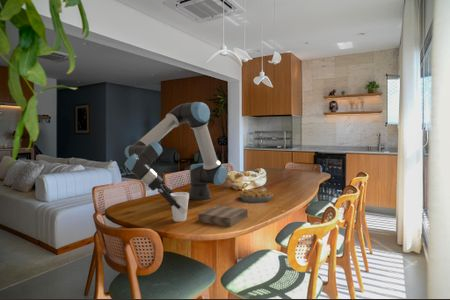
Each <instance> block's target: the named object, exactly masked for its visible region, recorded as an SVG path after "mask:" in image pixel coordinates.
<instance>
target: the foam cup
mask: <svg viewBox="0 0 450 300" xmlns="http://www.w3.org/2000/svg"><path fill="white" fill-rule="evenodd" d="M170 195H171V196H172V197H173V198H174V199H175V200H176V201H177V202H179V203H180V204H181V205H182V206H183V207H184V208H185V209H186V210H187V211H186V212H185V213H184V214H182V213H181V212H180V211H178V210H177V209H176V208H175V207H174V206H172V207H171V212H172V213H171V214H172V220H173V221H174V222H176V223H177V222H184V221H186V220H187V218H188V217H187V216H188V215H187V214H188V207H189V206H188V205H189V200H190V199H189V192H185V191H177V192H176V191H175V193H171V194H170Z"/></svg>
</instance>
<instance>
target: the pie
mask: <svg viewBox="0 0 450 300" xmlns="http://www.w3.org/2000/svg"><path fill="white" fill-rule="evenodd" d="M239 196H240V199H241V200H242V201H244V202H248V203H264V202H269V201H271V199H272V197H273V192H271V191H267V190H262V189H258V190H257V189H252V190H250V189H248V190H242V191H240V192H239Z"/></svg>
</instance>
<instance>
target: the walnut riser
mask: <svg viewBox="0 0 450 300" xmlns="http://www.w3.org/2000/svg"><path fill="white" fill-rule="evenodd" d="M248 212H249V211H248V208H240V207H233V206H225V205H214V206H212V207H210V208H208V209H205V210H203V211H201V212H199V213H198V215H197V216H198V222H200V223H206V224H212V225H218V226H222V227H230V228H232V227H233V226H235V225H236V224H238V223H240V222H241V221H243V220H245V219H247V218H248V216H249V215H248Z"/></svg>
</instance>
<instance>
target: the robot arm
mask: <svg viewBox="0 0 450 300" xmlns="http://www.w3.org/2000/svg"><path fill="white" fill-rule="evenodd" d="M210 117H211V111H210V108H209V106H208V104H206V103H204V102H201V101H199V102H198V101H193V102H186V103H181V104H179V105H177V106H175V107H174V108H173V109H171V110H170V111H169V112H167V114H166V115H165V117H164V118H163V119H162V120H161V121H160V122H159V123H158V124H157V125H155V126H154V127H153V128H152V129H151V130H149V131H148V132H147V133H146V134H145V135H144V136H142V137H141V138H140V139H139V140H138V141H137V142H135V143H134V144H130V145H127V146H126V148H125V149H124V155H125V157H126V158H127V159H126V161H125V162H124V166H125V167H126V168H127V169H128V170H129V171H130V172H131V173H132V174H133V175H135V176H136V178H138V179H139V180H140V181H141V184H143V183H144V184H145V185H146V186H147V187H148V188H149V189H150V190H151V191H154V192H155V190H157V192H158V193H159V195H161V196H162V197H163V198H164V199H165V200H166V201H167V203H168V204H170V207H171V208H172V206H174V207H175V208H176V209H177V210H178V211H180V212H181V213H182V214H184V213H185V212H186V211H187V212H188V209H187V210H186V209H185V208H184V207H183V206H182V205H181V204H180V203H179V202H177V201H176V200H175V199H174V198H173V197H172V196H171V195H170V194H171V193H176V191H173V189H171V188H170V187H168V186H167V185H166V184H164V182H163V181H164V178H163V177H162V176H161V175H159V174H158V172H156V171H155V170H154V169H153V168H152V167H151V164H152V163H153V162H155V161H156V160H157V159H158V158H159V157H160V155H161V154H162V153H163V147H162V146H161V144H159V143H158V142H160V141H161V140H162V139H163V138H164V137H165V136H167V134H168V133H169V132H171V131H172V130H173V129H174V128H178V127H179V126H180V125H182V124H188V125H189V129H192V130H193V133H194V137H195V138H196V139H195V140H196V143H197V145H198V148H199V151H200V155H201V158H202V161H203V163H202V162H201V163H195V164H191V165H190V169H189V172H190V173H189V175H190V178H189V180H190V181H189V182H190V186H189V191H188V193H189V199H188V200H191V201H203V200H205V201H206V200H209V199H211V197H212V195H211V191H210V188H209V184H210V185H216V186H217V185H218V186H219V185H220V186H221V185H223V184H224V183H225V181H226V180H227V177H228V170H227V167H226V166H223V165H222V163H221V161H220V160H219V159H218V157H217V154H216V151H215V147H214V145H213V142H212V138H211V134H210V131H209V128H208V124H209V120H210Z"/></svg>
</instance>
